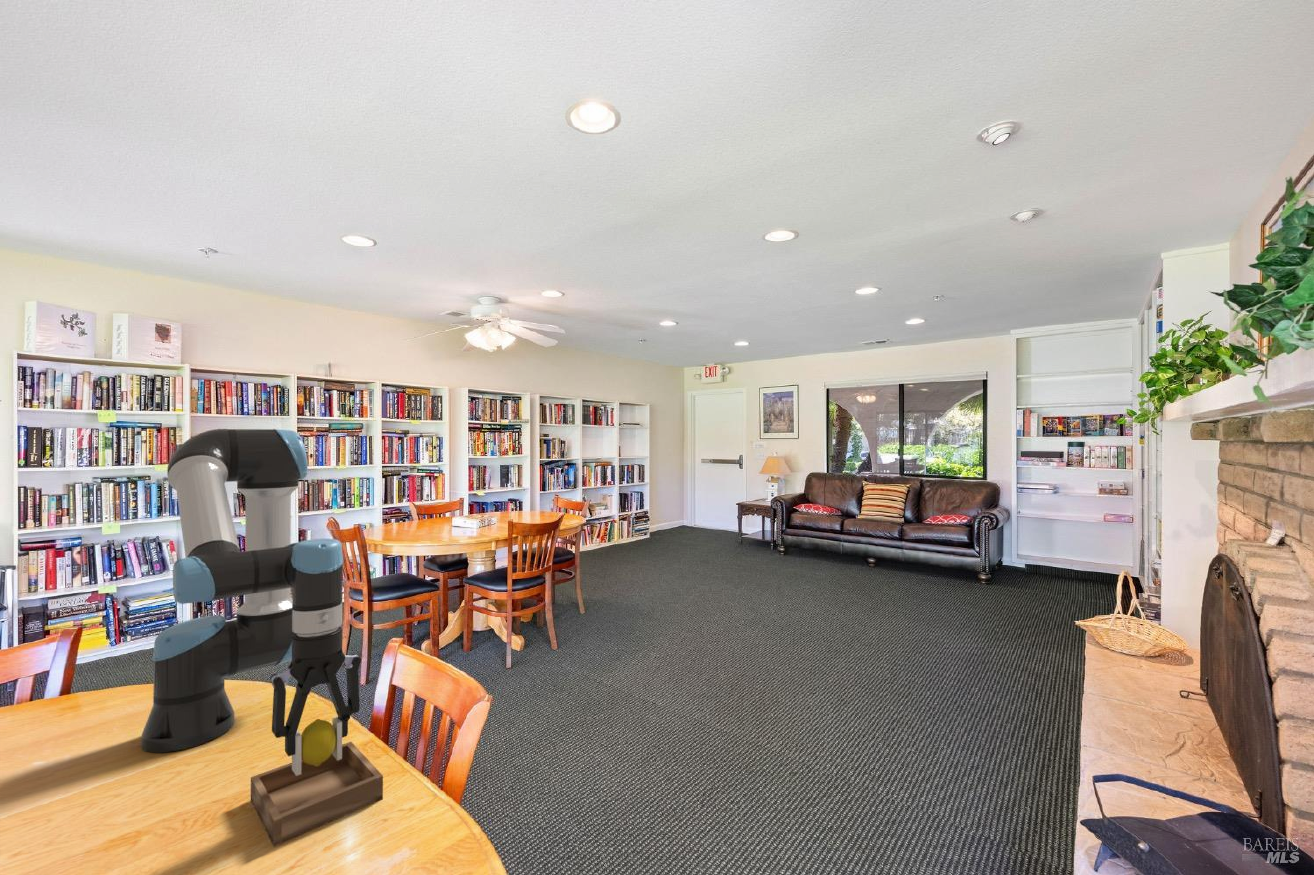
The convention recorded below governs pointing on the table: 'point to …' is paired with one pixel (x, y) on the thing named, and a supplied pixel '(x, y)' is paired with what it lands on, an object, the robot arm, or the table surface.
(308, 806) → the walnut bin
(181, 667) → the robot arm
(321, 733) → the lemon
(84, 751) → the table surface
